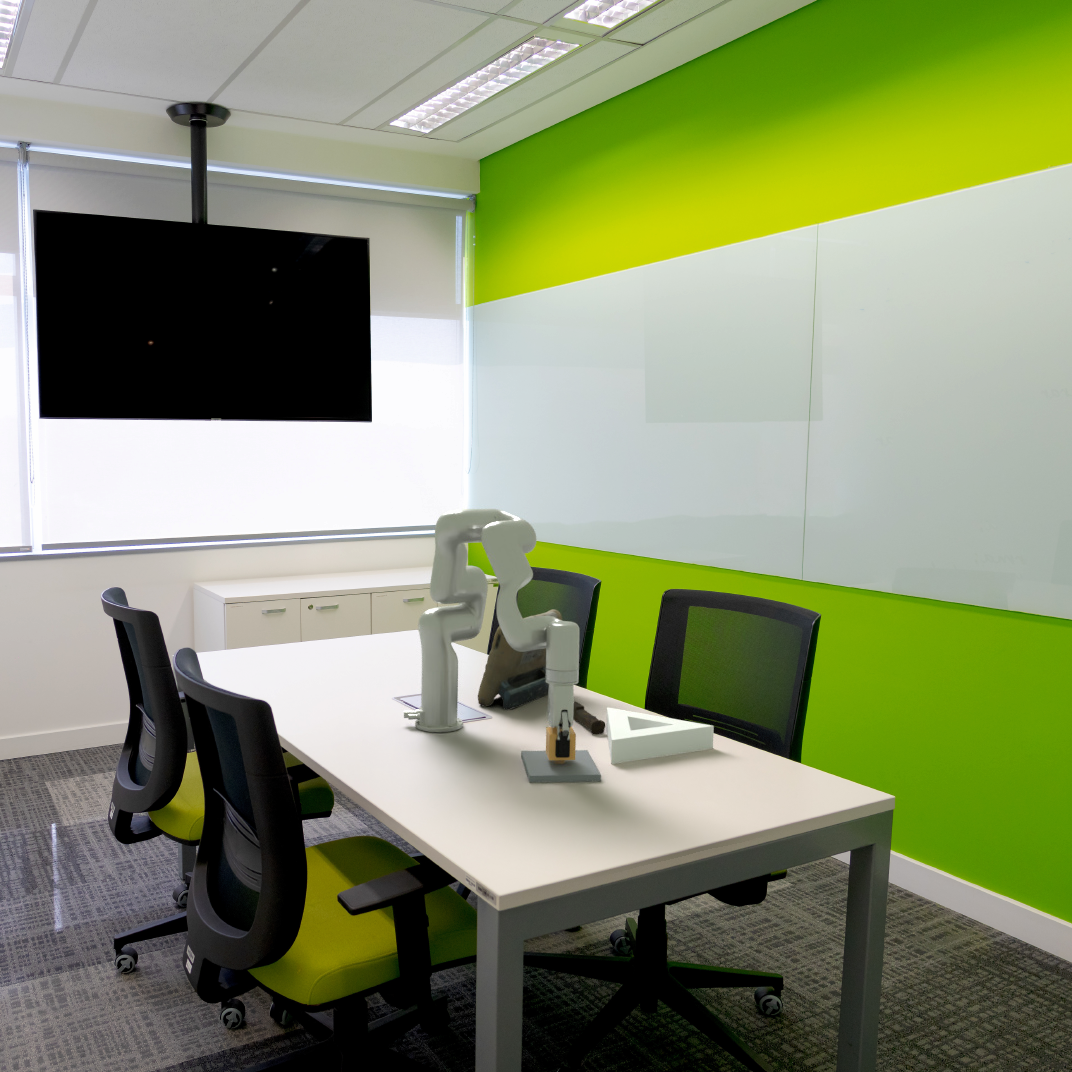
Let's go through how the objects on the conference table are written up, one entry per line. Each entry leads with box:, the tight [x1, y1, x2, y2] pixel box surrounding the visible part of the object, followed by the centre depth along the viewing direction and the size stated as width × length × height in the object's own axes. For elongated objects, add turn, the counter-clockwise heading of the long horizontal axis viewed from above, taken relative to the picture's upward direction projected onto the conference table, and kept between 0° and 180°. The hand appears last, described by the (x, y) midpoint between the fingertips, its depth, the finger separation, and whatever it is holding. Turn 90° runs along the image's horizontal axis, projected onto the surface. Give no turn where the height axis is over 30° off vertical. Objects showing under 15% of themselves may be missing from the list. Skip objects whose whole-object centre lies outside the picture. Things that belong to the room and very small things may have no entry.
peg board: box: [520, 749, 602, 783], centre depth 226 cm, size 16×18×6 cm
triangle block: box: [605, 706, 715, 765], centre depth 246 cm, size 30×26×6 cm
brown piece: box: [573, 701, 606, 736], centre depth 264 cm, size 19×4×5 cm, turn 17°
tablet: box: [477, 608, 563, 710], centre depth 291 cm, size 33×14×25 cm, turn 156°
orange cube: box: [545, 726, 577, 760], centre depth 226 cm, size 6×6×6 cm
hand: (560, 751), depth 226 cm, fingers closed on orange cube, 5 cm apart
